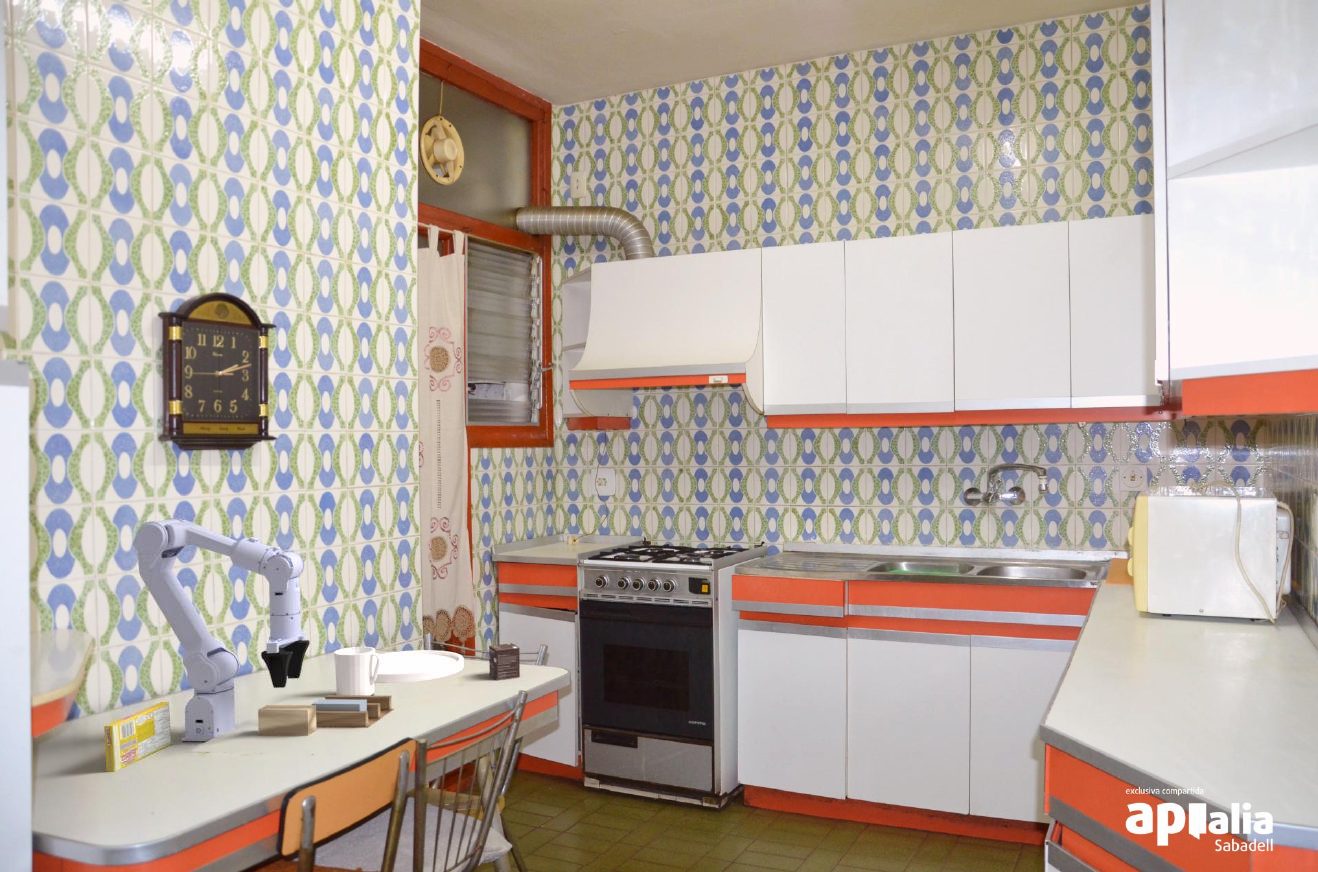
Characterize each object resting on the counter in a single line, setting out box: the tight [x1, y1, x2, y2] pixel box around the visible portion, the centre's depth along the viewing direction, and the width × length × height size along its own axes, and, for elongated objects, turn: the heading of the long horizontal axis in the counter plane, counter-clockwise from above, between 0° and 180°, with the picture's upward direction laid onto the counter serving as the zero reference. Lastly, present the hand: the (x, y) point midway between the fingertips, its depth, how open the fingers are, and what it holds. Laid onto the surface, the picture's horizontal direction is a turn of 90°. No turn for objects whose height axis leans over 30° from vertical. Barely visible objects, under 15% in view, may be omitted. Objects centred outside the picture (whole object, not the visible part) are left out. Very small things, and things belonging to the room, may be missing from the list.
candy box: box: [103, 701, 172, 773], centre depth 186 cm, size 16×2×8 cm, turn 172°
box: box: [488, 642, 521, 681], centre depth 245 cm, size 6×6×7 cm
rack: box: [316, 694, 395, 729], centre depth 207 cm, size 14×15×4 cm
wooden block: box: [257, 704, 317, 737], centre depth 196 cm, size 4×10×6 cm, turn 84°
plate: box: [374, 649, 465, 684], centre depth 255 cm, size 28×28×2 cm
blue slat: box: [311, 698, 367, 711], centre depth 204 cm, size 4×10×4 cm, turn 84°
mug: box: [333, 646, 381, 696], centre depth 228 cm, size 11×9×10 cm
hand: (286, 682), depth 199 cm, fingers open, 7 cm apart
